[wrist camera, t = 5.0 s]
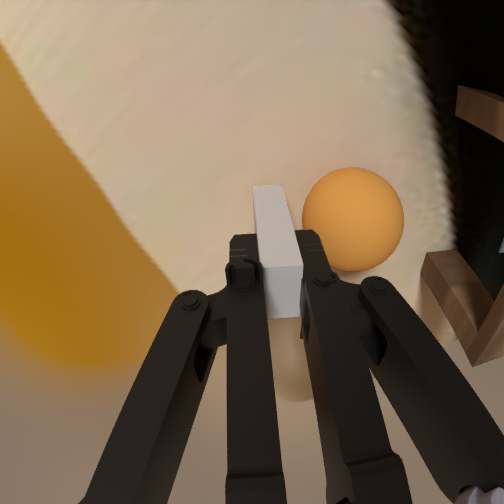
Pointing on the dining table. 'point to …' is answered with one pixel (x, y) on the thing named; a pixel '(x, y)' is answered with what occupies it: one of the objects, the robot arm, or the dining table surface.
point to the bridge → (456, 268)
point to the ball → (354, 218)
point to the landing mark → (501, 247)
